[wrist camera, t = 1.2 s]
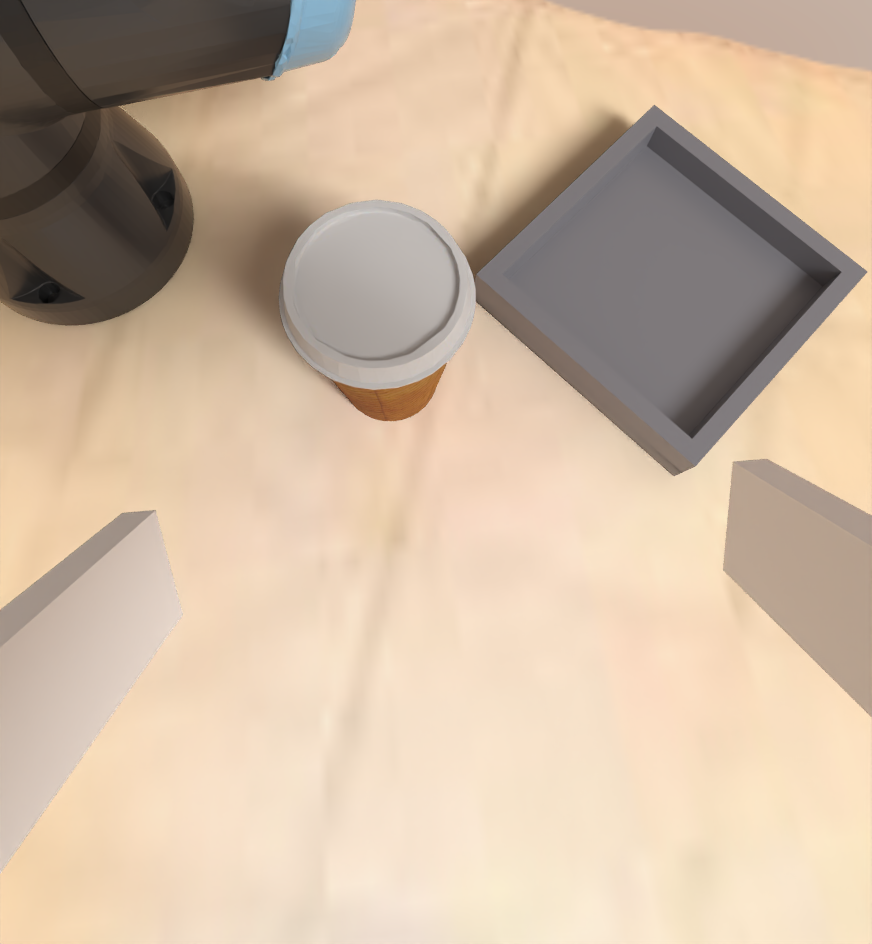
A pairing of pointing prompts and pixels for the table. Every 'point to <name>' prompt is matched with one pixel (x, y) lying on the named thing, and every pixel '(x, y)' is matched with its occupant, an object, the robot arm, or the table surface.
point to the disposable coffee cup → (378, 304)
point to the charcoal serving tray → (666, 288)
